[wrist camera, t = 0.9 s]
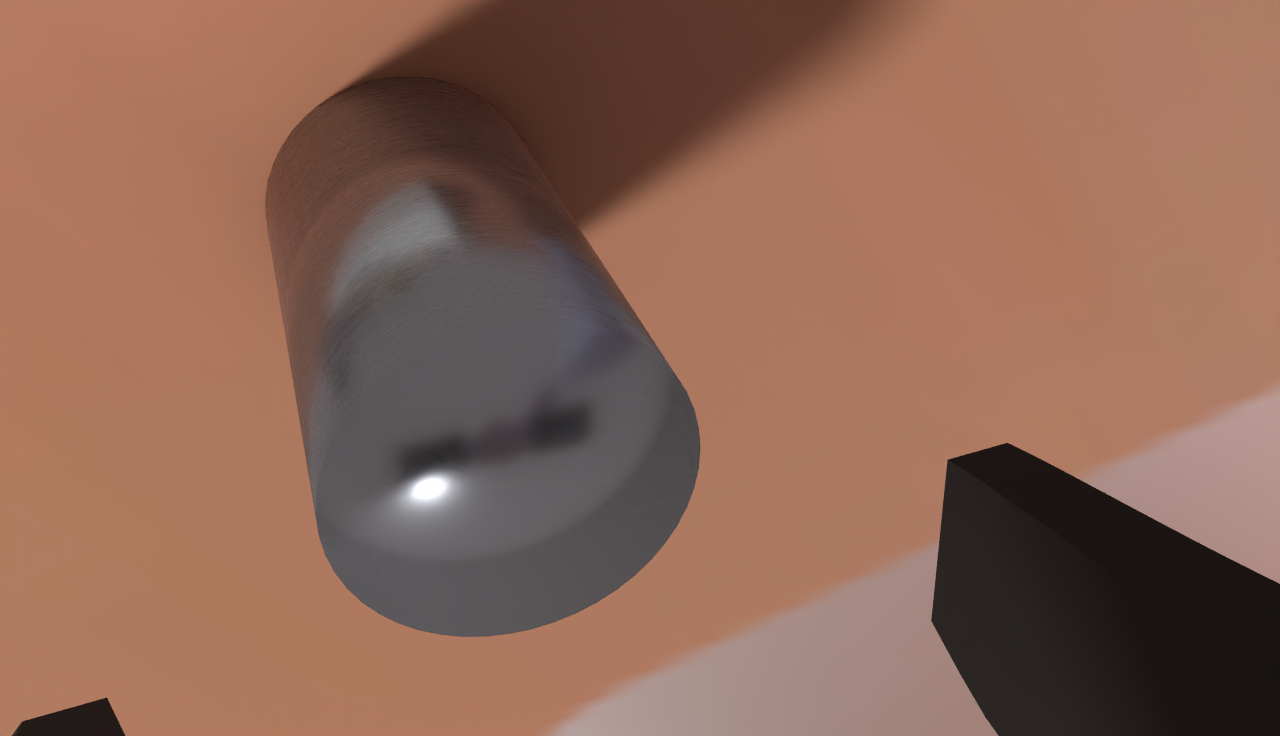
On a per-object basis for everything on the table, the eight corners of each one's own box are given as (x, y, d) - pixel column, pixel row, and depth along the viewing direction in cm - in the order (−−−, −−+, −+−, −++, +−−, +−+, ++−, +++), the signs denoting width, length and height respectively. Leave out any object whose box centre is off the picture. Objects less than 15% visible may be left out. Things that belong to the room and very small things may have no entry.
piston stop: (543, 76, 17) (723, 305, 12) (528, 315, 19) (676, 607, 14) (256, 78, 16) (306, 335, 11) (273, 334, 18) (323, 662, 13)
